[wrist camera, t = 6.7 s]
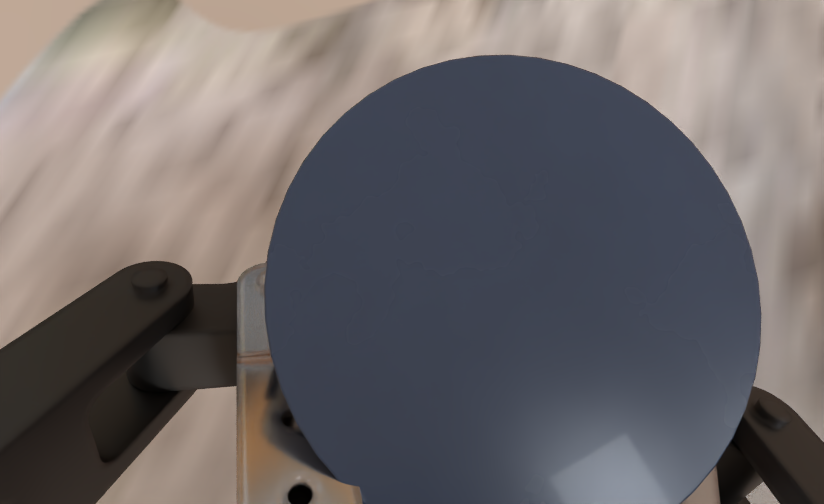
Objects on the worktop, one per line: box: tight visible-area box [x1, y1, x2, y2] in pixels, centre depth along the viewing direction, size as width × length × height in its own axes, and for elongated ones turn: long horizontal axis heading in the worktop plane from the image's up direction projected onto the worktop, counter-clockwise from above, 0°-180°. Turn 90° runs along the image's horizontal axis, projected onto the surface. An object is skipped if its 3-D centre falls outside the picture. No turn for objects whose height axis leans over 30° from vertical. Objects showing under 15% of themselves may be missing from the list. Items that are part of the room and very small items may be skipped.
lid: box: [264, 55, 761, 504], centre depth 6 cm, size 6×6×2 cm
